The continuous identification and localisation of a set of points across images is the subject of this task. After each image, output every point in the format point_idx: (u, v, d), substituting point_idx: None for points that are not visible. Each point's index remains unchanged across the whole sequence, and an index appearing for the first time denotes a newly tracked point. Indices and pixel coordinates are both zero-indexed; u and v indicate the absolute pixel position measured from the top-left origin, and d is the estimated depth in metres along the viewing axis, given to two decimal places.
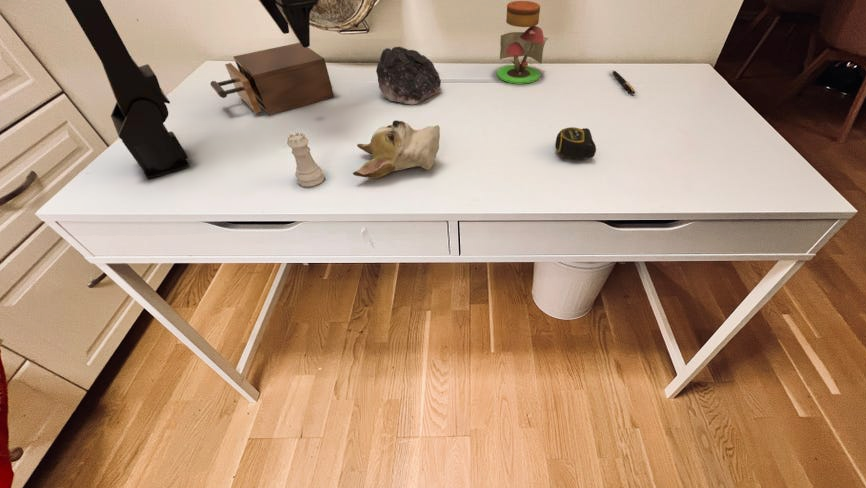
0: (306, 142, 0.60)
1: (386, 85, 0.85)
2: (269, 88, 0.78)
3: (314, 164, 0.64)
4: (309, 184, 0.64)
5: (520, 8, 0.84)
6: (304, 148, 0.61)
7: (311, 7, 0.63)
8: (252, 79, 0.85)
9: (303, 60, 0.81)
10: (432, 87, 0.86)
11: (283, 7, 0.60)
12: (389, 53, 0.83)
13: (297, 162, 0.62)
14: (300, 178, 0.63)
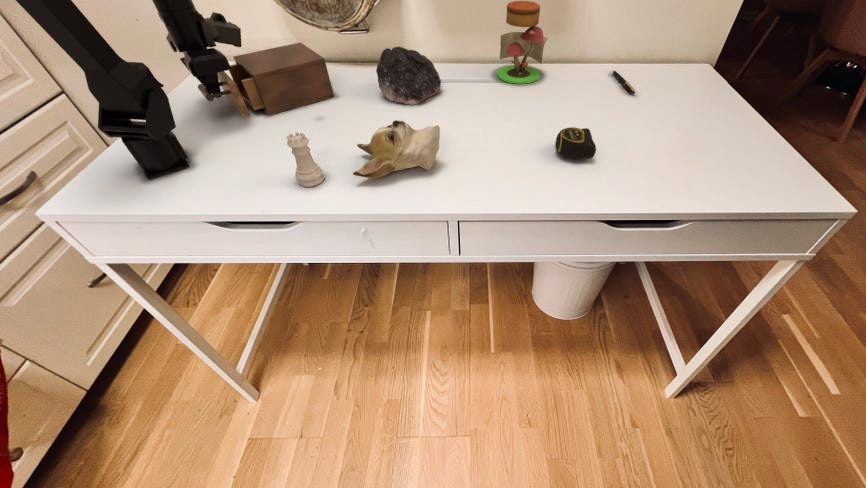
0: (306, 142, 0.60)
1: (386, 85, 0.85)
2: (269, 88, 0.78)
3: (314, 164, 0.64)
4: (309, 184, 0.64)
5: (520, 8, 0.84)
6: (304, 148, 0.61)
7: None
8: (241, 82, 0.84)
9: (303, 60, 0.81)
10: (432, 87, 0.86)
11: (189, 70, 0.71)
12: (389, 53, 0.83)
13: (297, 162, 0.62)
14: (300, 178, 0.63)
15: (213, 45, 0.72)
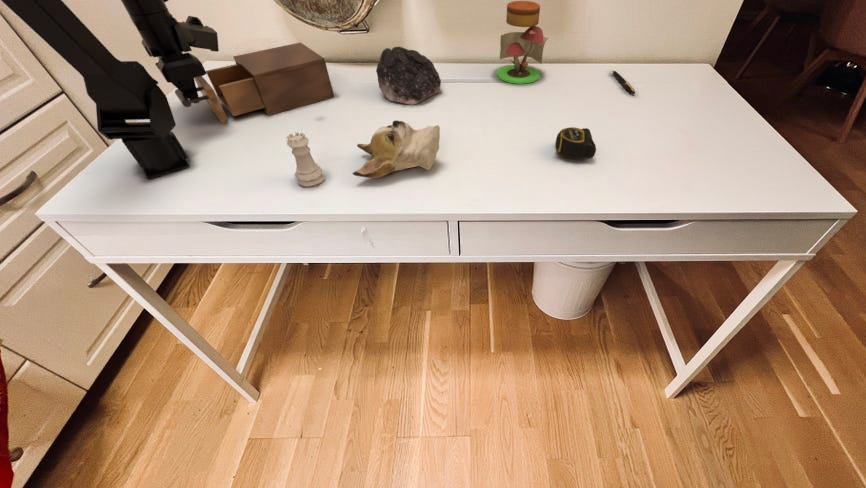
0: (306, 142, 0.60)
1: (386, 85, 0.85)
2: (269, 88, 0.78)
3: (314, 164, 0.64)
4: (309, 184, 0.64)
5: (520, 8, 0.84)
6: (304, 148, 0.61)
7: None
8: None
9: (303, 60, 0.81)
10: (432, 87, 0.86)
11: None
12: (389, 53, 0.83)
13: (297, 162, 0.62)
14: (300, 178, 0.63)
15: (188, 50, 0.70)
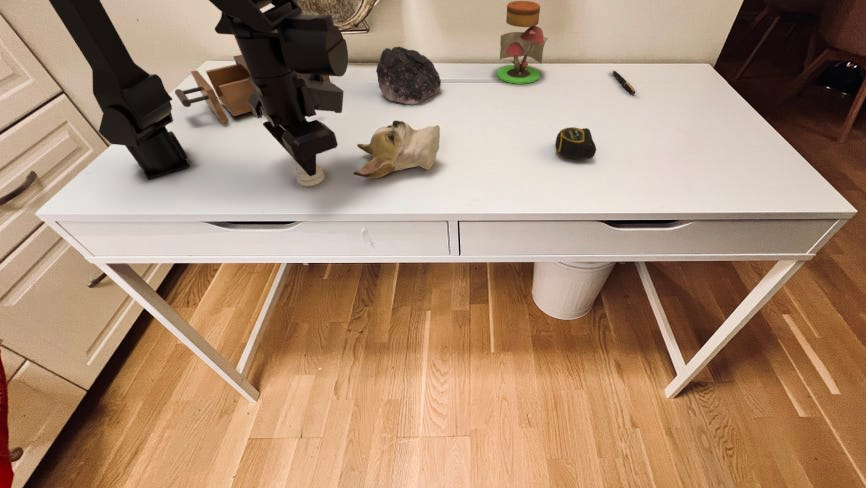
0: None
1: (386, 85, 0.85)
2: None
3: None
4: (309, 184, 0.64)
5: (520, 8, 0.84)
6: None
7: None
8: None
9: None
10: (432, 87, 0.86)
11: (288, 150, 0.55)
12: (389, 53, 0.83)
13: None
14: (300, 178, 0.63)
15: (313, 114, 0.57)
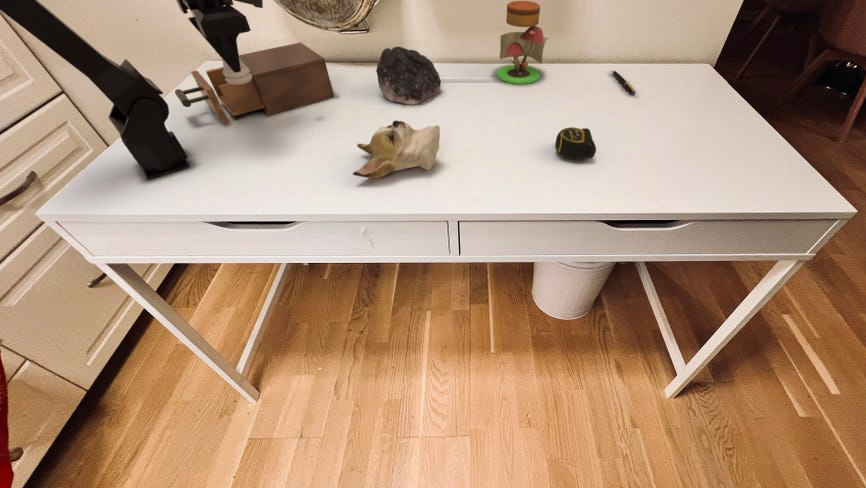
0: None
1: (386, 85, 0.85)
2: (269, 88, 0.78)
3: (240, 62, 0.67)
4: (235, 81, 0.67)
5: (520, 8, 0.84)
6: None
7: (237, 33, 0.62)
8: None
9: (303, 60, 0.81)
10: (432, 87, 0.86)
11: (204, 35, 0.59)
12: (389, 53, 0.83)
13: None
14: (226, 74, 0.67)
15: (230, 3, 0.60)
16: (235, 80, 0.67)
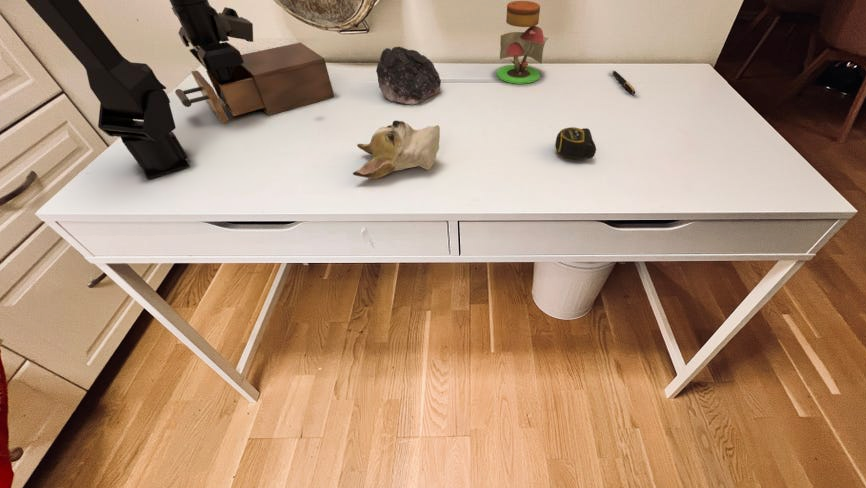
0: None
1: (386, 85, 0.85)
2: (269, 88, 0.78)
3: None
4: None
5: (520, 8, 0.84)
6: None
7: None
8: None
9: (303, 60, 0.81)
10: (432, 87, 0.86)
11: (206, 67, 0.71)
12: (389, 53, 0.83)
13: None
14: (223, 97, 0.79)
15: (226, 39, 0.72)
16: None
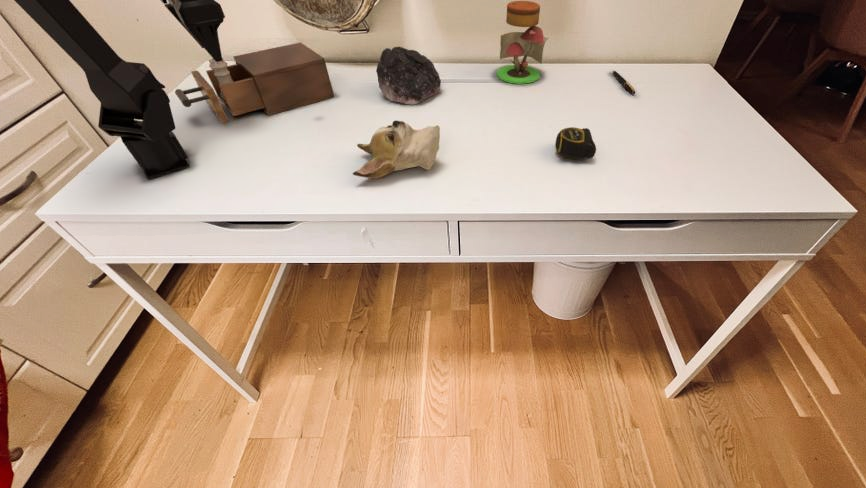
0: (225, 65, 0.76)
1: (386, 85, 0.85)
2: (269, 88, 0.78)
3: None
4: None
5: (520, 8, 0.84)
6: (223, 69, 0.76)
7: (217, 25, 0.67)
8: None
9: (303, 60, 0.81)
10: (432, 87, 0.86)
11: (187, 25, 0.63)
12: (389, 53, 0.83)
13: (219, 83, 0.78)
14: (223, 97, 0.79)
15: None
16: None
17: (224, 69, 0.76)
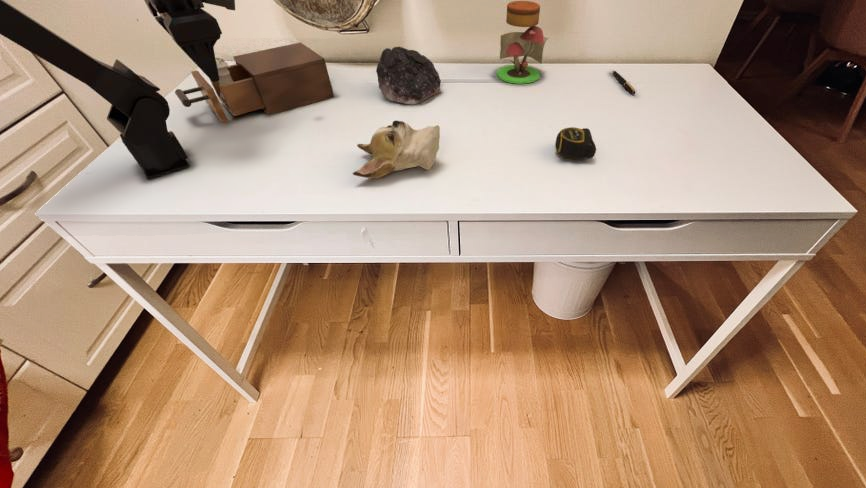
0: (225, 65, 0.76)
1: (386, 85, 0.85)
2: (269, 88, 0.78)
3: None
4: None
5: (520, 8, 0.84)
6: (223, 69, 0.76)
7: (214, 41, 0.59)
8: None
9: (303, 60, 0.81)
10: (432, 87, 0.86)
11: (178, 43, 0.56)
12: (389, 53, 0.83)
13: (219, 83, 0.78)
14: (223, 97, 0.79)
15: (200, 6, 0.59)
16: None
17: (224, 69, 0.76)
